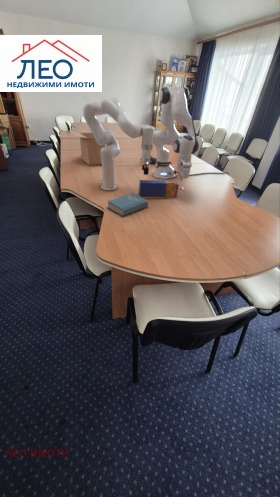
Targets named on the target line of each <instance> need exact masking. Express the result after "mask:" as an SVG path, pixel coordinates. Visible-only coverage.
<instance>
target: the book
mask: <svg viewBox="0 0 280 497" xmlns="http://www.w3.org/2000/svg"><path fill="white" fill-rule="evenodd" d="M146 207H149V200H148V199H147V198H142V197H140V196H139V195H137V194H135V193H133V192H131V193H129V194H125V195H122V196H119V197H115V198H112V199H109V200H107V208H108V209H109V210H111V211H112V212H115V213H116V214H117V215H119V216H121V217H124V216H126V215H129V214H132V213H134V212H137V211H140V210H142V209H144V208H146Z"/></svg>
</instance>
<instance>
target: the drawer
mask: <svg viewBox="0 0 280 497" xmlns="http://www.w3.org/2000/svg"><path fill="white" fill-rule="evenodd" d="M166 183H167V185H166V193H165V197H175V198H177V197H178V192H179V191H182V192H183V191H184V190H185V189H184V187H179V186H180V185H179V183H178V182H177V181H176V182H166Z"/></svg>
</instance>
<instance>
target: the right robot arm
mask: <svg viewBox="0 0 280 497" xmlns="http://www.w3.org/2000/svg"><path fill="white" fill-rule="evenodd" d="M158 97H159V98H158V99H159V102H160V103H161V104H162V105H161V112H160V113H161V114H160V124H161V125H162V126H163V127H165V128H166V130H163V129H156V130H155V129H154V136H153V145H154V147H155V150H156V158H157V159H156V164H154V171H153V175H152V176H153V177H154V178H156V179H162V180H169V179H173V178H177V175H176V174H178V176H179V178H178V179H179V181H180V182H182V181H184V179H188V178H189V177H192V176H199V175H209V174H211V175H212V174H213V175H214V174H215V175H216V174H218V175H224V174H227V175H230V173H229V172H227V171H225V172H202V173H194V174H191V168H192V166H193V165H192V164H193V163H192V155H195V154H196V153H197V152H198V150H199V148H200V144H199V140H198V138H197V133H196V128H195V122H194V119H193V117H192V116H191V114H190V113H189V110H188V101H189V97H190V91H189V89H188V88H187V87H184V86H183V87H181V86H168V87H167V86H164V87H161V89H160V91H159V96H158ZM175 122H176V123H178V124H180V125H182V126H184V127H185V128H186V130H187V134H185V135H183V136H182V137H181V135H180V132H178V131H177V129H176V126H175ZM164 145H165V146H172V151H174V153H175V154H178V158H177V165H176V169H174V168H173V167H172V166H171V165H172V164H173V162H172V161H169V158H170V151H169V150H168V149H167V148H165V146H164Z"/></svg>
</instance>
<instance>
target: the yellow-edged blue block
mask: <svg viewBox="0 0 280 497" xmlns="http://www.w3.org/2000/svg"><path fill="white" fill-rule="evenodd" d="M167 183H168V182H166V180H163V179H162V180H158V179H156V180H155V179H139V186H138V196H140V197H142V198H144V199H165V198H166V196H165V193H166V185H167Z"/></svg>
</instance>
